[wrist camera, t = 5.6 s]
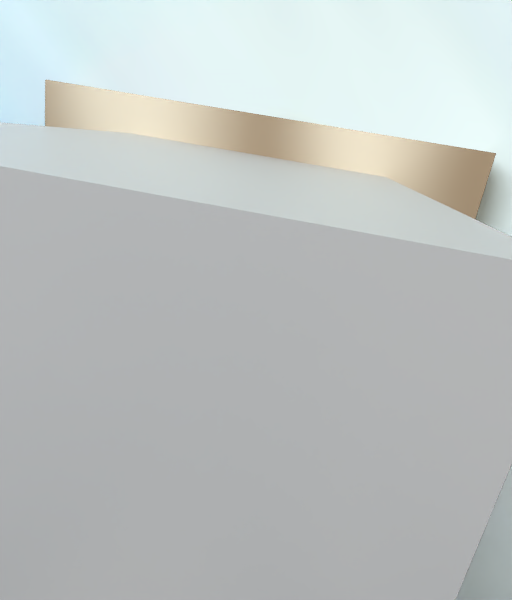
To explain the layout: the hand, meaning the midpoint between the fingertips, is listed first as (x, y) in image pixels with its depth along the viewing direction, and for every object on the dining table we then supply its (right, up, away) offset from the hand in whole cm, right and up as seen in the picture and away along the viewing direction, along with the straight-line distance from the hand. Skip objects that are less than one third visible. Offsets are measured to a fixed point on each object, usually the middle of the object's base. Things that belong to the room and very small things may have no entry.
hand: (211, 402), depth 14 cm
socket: (+1, +5, -1) cm, 5 cm away
